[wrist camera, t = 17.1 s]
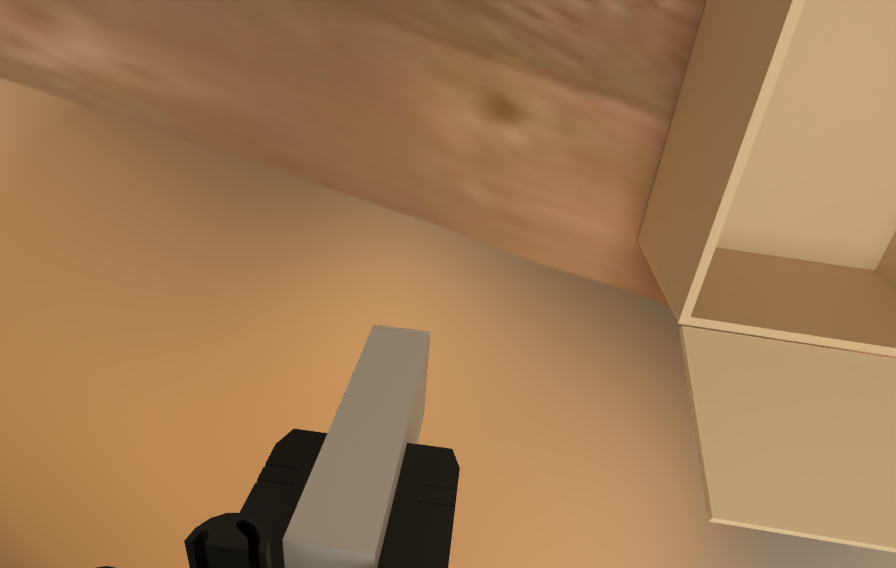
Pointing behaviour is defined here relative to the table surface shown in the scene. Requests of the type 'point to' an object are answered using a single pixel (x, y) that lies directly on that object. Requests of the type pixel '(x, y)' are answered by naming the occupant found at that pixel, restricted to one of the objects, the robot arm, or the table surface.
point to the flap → (794, 436)
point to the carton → (783, 175)
